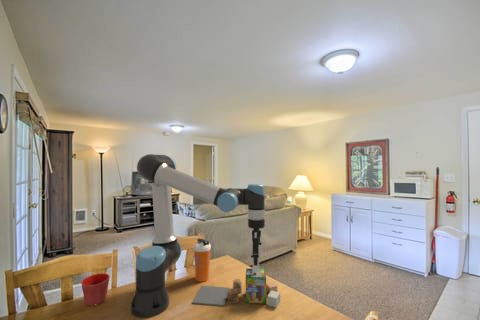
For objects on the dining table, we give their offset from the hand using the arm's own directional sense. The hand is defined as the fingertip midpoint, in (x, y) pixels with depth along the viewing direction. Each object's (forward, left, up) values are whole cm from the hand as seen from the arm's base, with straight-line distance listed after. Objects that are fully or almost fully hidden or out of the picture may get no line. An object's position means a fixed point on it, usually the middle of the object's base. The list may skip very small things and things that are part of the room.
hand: (256, 265), depth 107 cm
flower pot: (-70, -12, -15) cm, 72 cm away
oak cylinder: (-9, +4, -15) cm, 18 cm away
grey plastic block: (+8, -3, -15) cm, 17 cm away
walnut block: (-10, -3, -15) cm, 18 cm away
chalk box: (0, 0, -15) cm, 15 cm away
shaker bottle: (-29, +14, -15) cm, 36 cm away
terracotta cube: (+7, +5, -15) cm, 17 cm away
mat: (-20, -1, -15) cm, 25 cm away
